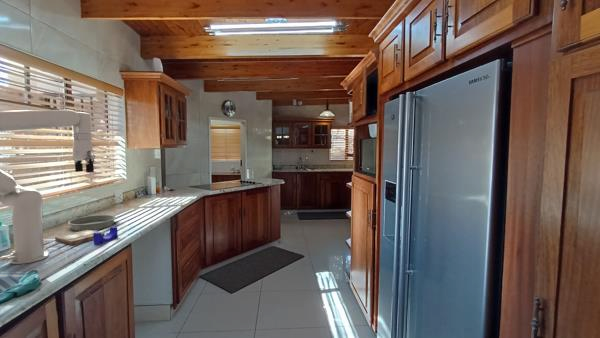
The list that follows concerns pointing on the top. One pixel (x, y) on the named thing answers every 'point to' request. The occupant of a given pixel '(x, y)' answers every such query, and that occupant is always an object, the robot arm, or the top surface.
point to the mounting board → (77, 237)
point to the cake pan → (91, 222)
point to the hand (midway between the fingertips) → (84, 171)
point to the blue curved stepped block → (109, 236)
